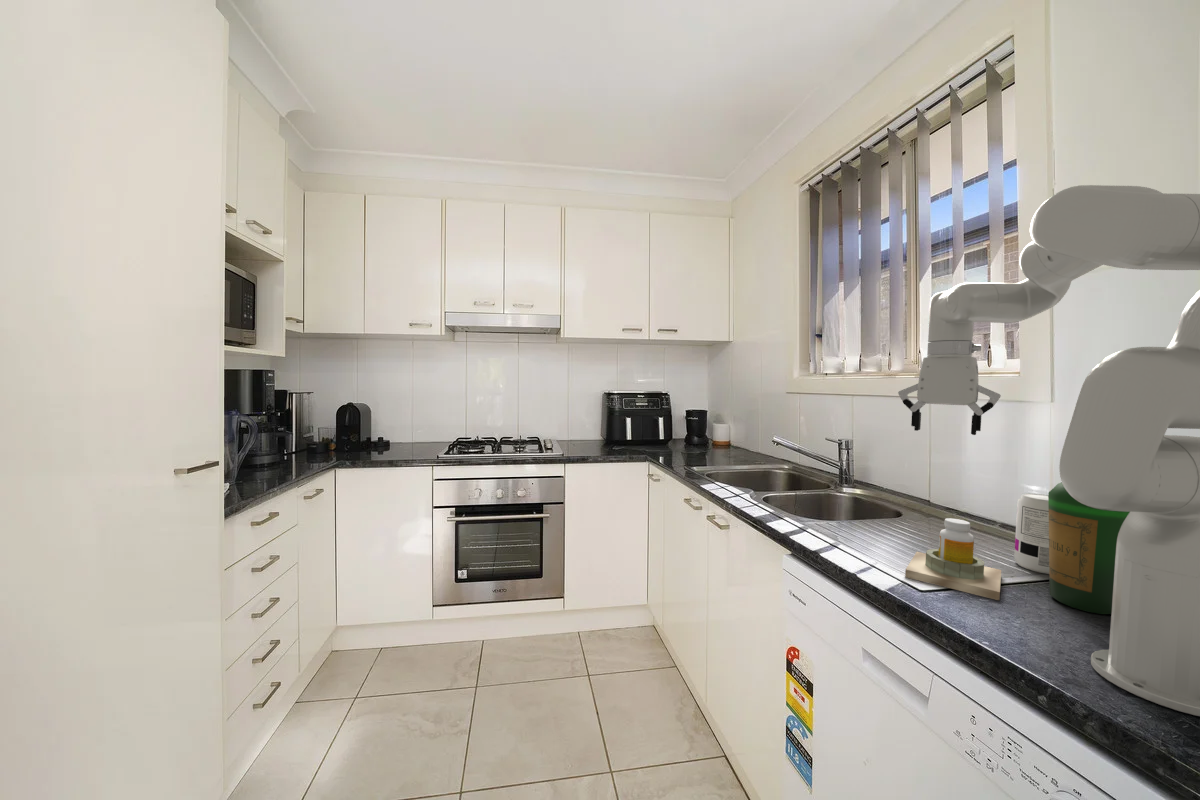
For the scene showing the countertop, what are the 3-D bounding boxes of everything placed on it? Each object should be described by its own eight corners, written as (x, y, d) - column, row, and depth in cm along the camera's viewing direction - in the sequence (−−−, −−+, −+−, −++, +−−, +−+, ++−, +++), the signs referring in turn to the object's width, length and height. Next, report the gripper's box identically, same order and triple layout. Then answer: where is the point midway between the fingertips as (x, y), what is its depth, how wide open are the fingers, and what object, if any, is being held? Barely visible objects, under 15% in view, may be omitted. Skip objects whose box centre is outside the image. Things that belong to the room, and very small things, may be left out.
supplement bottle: (979, 576, 89) (982, 525, 89) (950, 575, 89) (953, 524, 89) (958, 565, 94) (961, 517, 94) (931, 564, 95) (934, 516, 94)
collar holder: (1000, 577, 93) (1002, 557, 93) (999, 600, 82) (1000, 578, 82) (916, 558, 102) (917, 540, 102) (905, 577, 91) (906, 556, 91)
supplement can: (1004, 559, 103) (1008, 491, 103) (1046, 562, 102) (1050, 493, 101) (1032, 574, 95) (1037, 500, 94) (1078, 577, 94) (1083, 503, 93)
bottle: (1036, 585, 89) (1045, 439, 88) (1117, 602, 83) (1128, 444, 82) (1047, 606, 80) (1058, 444, 79) (1139, 626, 74) (1152, 451, 73)
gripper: (1003, 351, 95) (998, 435, 96) (903, 353, 107) (899, 427, 107) (1003, 348, 90) (997, 437, 90) (897, 350, 101) (893, 429, 102)
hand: (944, 432), depth 99 cm, fingers open, 9 cm apart
